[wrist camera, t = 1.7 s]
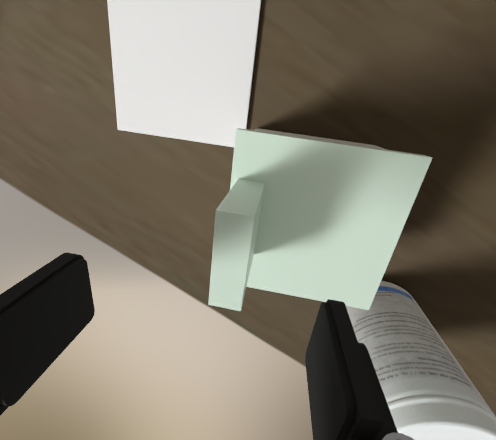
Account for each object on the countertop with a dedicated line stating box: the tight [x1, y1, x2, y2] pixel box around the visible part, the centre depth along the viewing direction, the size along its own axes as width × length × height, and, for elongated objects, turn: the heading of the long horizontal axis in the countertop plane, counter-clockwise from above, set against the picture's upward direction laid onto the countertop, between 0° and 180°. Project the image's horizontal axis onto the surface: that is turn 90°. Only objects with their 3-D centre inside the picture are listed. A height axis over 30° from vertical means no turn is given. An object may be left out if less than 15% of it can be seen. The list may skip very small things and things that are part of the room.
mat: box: [107, 0, 261, 147], centre depth 23 cm, size 13×13×1 cm
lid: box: [208, 128, 432, 311], centre depth 16 cm, size 12×12×8 cm
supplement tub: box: [346, 281, 496, 440], centre depth 24 cm, size 10×10×15 cm
